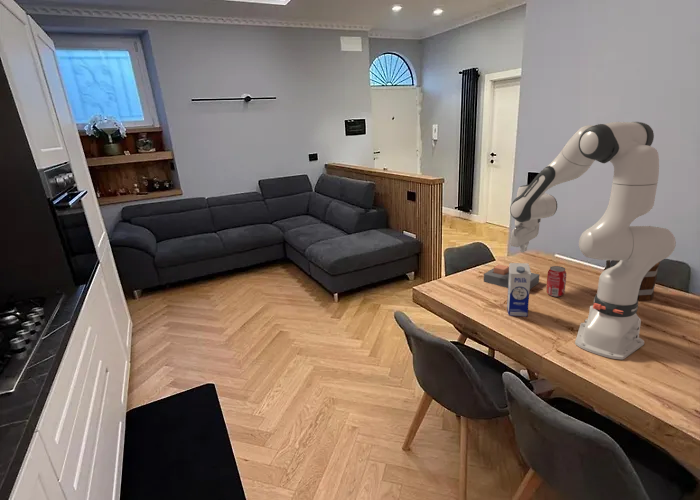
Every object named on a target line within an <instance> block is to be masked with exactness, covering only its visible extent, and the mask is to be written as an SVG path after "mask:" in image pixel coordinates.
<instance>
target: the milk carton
mask: <svg viewBox="0 0 700 500" xmlns="http://www.w3.org/2000/svg"><path fill="white" fill-rule="evenodd" d="M508 265H509V266H508V267H509V281H508V288H507V300H506V310H507V313H508V316H509V317H525V318H527V317H529V316H528V315H529V314H528V312H529V302H530V301H529V300H530V290H531V289H530V278H531V273H532V271H531V267H530V264H529V263H525V262H524V263H522V262H509V264H508Z"/></svg>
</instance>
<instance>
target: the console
mask: <svg viewBox="0 0 700 500" xmlns="http://www.w3.org/2000/svg"><path fill="white" fill-rule="evenodd" d="M540 276H541V275H540V273H539V274H537V273H534V272H531V278H530V290H531V289H533V288H534V287H535V286H537V285H538V284H539V283H540ZM508 281H509V272H508V273H507V274H505V275H501V274H497V273H494V267H492V268H491V269H489V270H488V271H487V272H484V273H483V283H487V284H491V285H495V286H498V287H499V286H500V287H502V288H506V289H508Z"/></svg>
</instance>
